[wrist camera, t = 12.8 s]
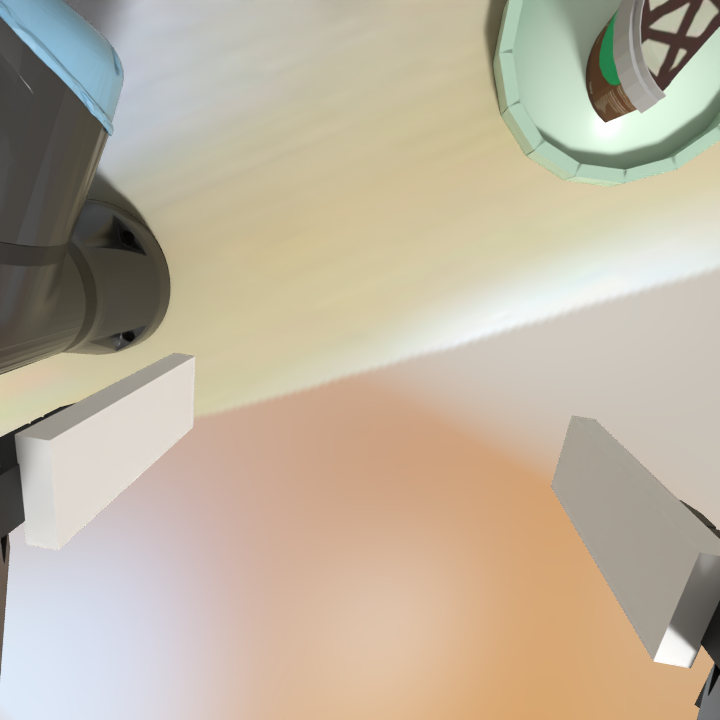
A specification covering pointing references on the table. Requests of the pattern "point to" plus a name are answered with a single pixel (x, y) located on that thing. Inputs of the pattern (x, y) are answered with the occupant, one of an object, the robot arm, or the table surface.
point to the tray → (572, 105)
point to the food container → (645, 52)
